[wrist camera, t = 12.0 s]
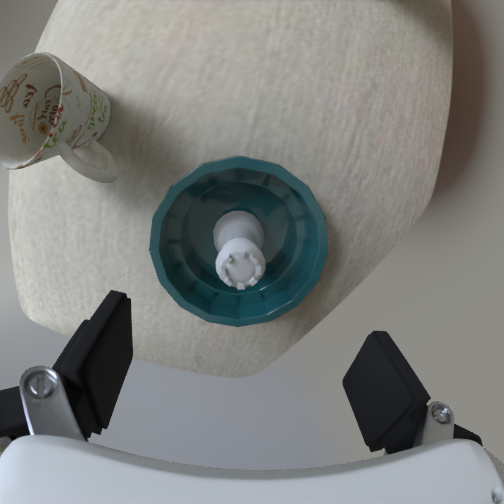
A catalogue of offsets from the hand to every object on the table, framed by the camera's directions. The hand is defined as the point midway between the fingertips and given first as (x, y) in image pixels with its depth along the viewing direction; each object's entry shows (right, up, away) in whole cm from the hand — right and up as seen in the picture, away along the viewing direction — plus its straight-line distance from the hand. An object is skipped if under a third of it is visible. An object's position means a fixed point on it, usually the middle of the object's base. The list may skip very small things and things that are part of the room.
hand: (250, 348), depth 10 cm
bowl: (-1, +5, +15) cm, 16 cm away
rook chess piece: (-1, +5, +15) cm, 16 cm away
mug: (-14, +15, +11) cm, 24 cm away
